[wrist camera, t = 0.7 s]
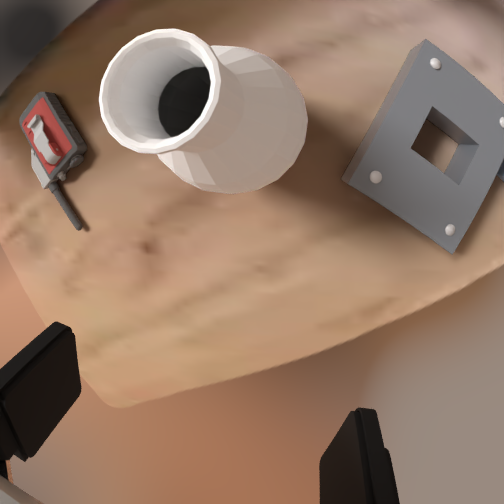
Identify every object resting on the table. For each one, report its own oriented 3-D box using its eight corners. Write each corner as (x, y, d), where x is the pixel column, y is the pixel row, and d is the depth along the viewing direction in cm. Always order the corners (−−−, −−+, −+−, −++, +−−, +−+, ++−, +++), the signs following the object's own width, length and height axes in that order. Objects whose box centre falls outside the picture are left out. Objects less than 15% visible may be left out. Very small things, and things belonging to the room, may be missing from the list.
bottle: (323, 118, 32) (395, 48, 8) (263, 200, 35) (202, 311, 11) (237, 63, 31) (136, -69, 7) (182, 144, 35) (4, 154, 11)
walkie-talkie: (20, 127, 36) (81, 231, 40) (0, 128, 32) (63, 240, 36) (52, 84, 34) (122, 192, 38) (32, 81, 30) (103, 198, 34)
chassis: (410, 50, 28) (426, 38, 23) (497, 121, 28) (520, 120, 24) (340, 179, 34) (348, 184, 29) (435, 242, 34) (452, 255, 30)
